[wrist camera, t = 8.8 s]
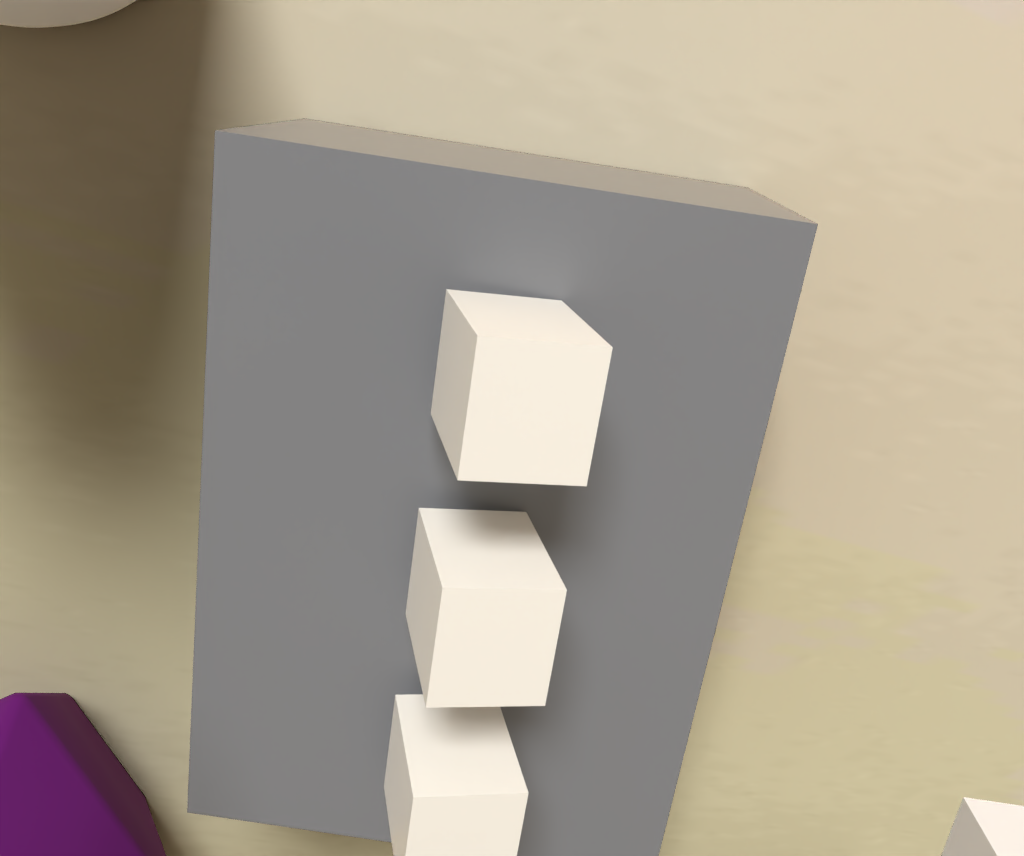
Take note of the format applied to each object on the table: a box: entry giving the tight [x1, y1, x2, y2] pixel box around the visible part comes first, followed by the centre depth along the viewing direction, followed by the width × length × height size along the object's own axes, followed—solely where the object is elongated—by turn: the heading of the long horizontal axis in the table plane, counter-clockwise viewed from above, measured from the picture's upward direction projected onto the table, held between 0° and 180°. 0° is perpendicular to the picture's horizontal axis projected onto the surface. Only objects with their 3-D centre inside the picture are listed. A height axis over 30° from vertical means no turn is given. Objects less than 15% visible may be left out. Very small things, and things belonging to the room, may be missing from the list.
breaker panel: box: [187, 119, 818, 856], centre depth 21 cm, size 10×14×6 cm
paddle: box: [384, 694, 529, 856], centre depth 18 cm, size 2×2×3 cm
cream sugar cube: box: [431, 289, 613, 486], centre depth 15 cm, size 2×2×3 cm
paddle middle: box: [406, 508, 567, 708], centre depth 17 cm, size 2×2×3 cm
